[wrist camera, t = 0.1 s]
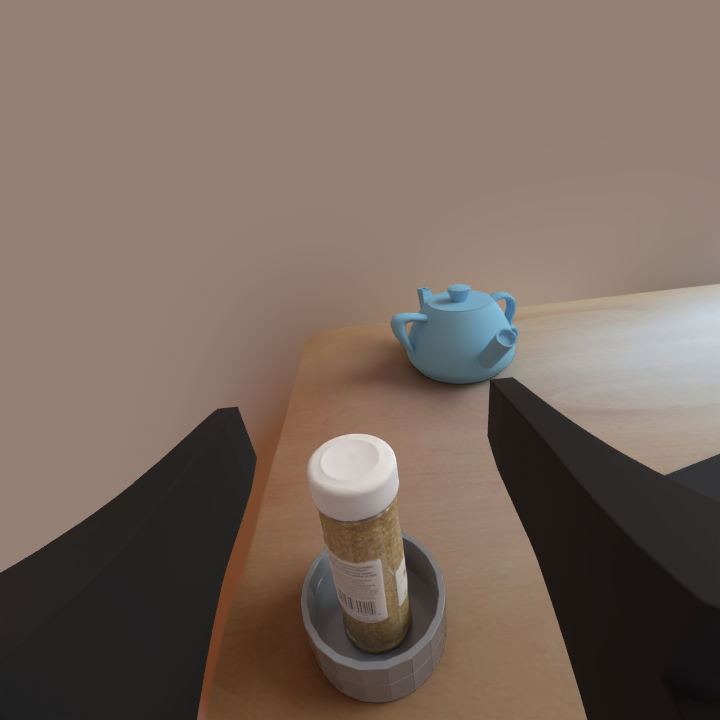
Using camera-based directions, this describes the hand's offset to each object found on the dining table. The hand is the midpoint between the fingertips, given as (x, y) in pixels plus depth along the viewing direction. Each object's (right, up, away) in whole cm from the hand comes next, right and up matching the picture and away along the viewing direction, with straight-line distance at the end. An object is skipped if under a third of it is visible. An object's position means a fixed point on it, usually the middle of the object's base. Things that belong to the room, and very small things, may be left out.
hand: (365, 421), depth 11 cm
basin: (+1, -15, +14) cm, 21 cm away
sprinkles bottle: (+1, -15, +14) cm, 21 cm away
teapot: (+14, +1, +44) cm, 46 cm away
